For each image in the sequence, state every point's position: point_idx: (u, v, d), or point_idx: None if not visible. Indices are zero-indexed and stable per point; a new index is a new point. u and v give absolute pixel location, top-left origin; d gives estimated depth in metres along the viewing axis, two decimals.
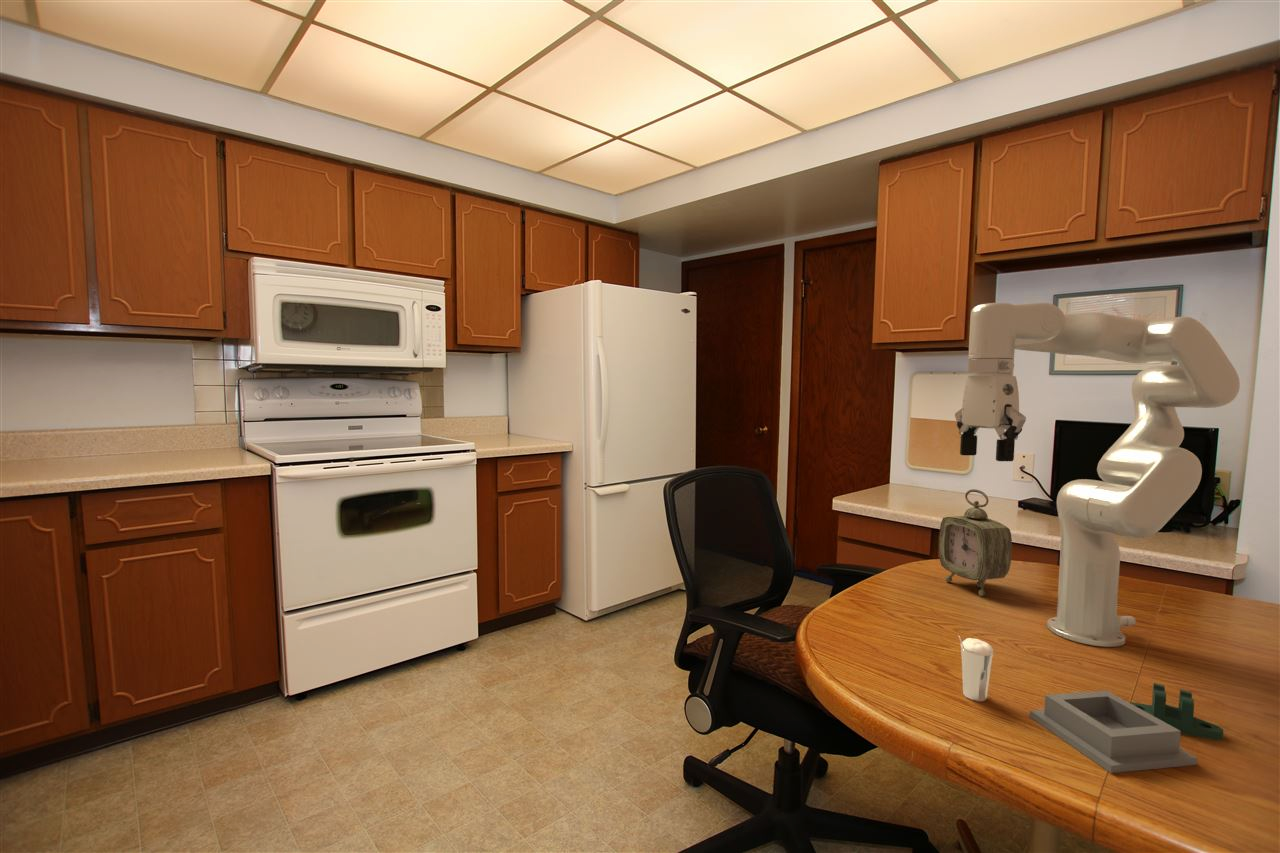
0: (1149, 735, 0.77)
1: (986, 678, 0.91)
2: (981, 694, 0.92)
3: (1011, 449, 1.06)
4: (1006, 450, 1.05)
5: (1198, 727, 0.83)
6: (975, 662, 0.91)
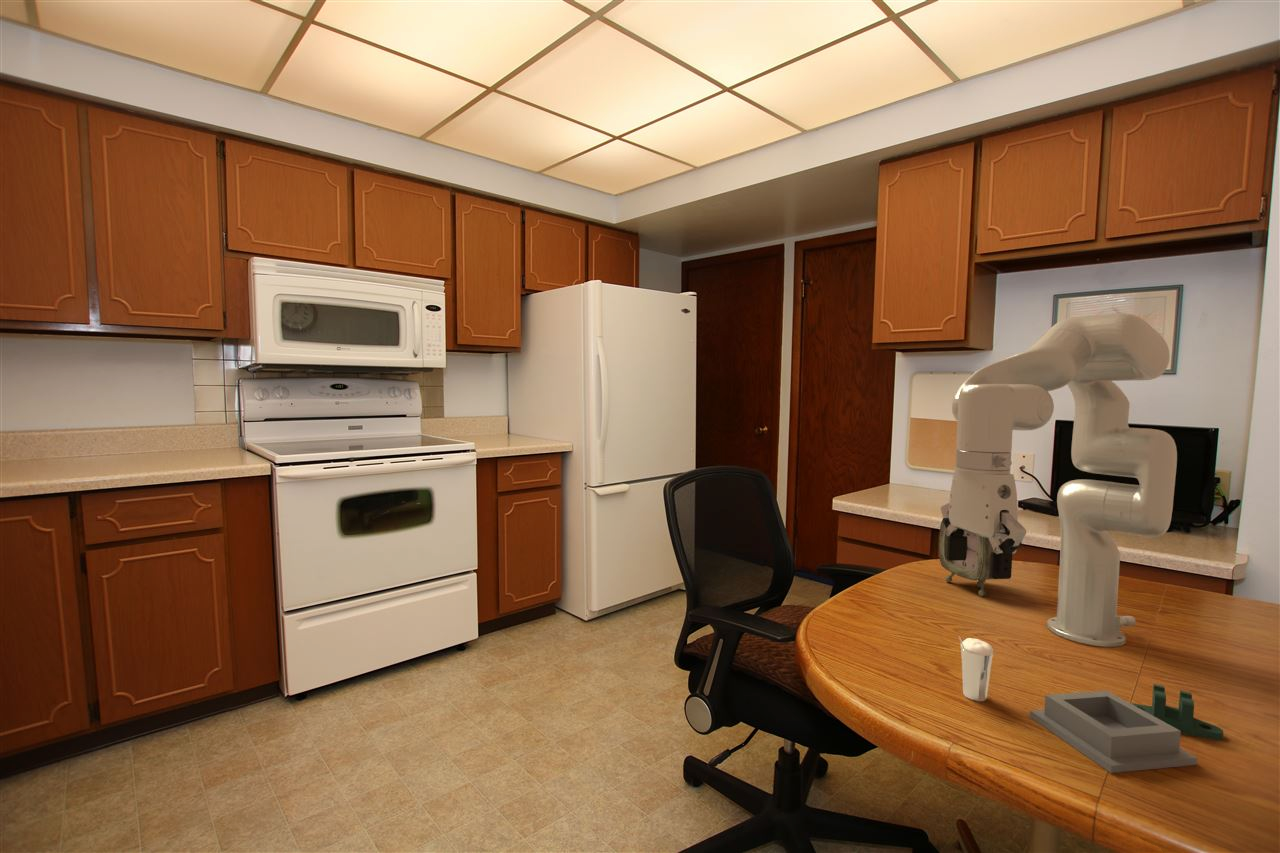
0: (1149, 735, 0.77)
1: (986, 678, 0.91)
2: (981, 694, 0.92)
3: (1008, 565, 0.86)
4: (1002, 566, 0.86)
5: (1198, 728, 0.83)
6: (975, 662, 0.91)
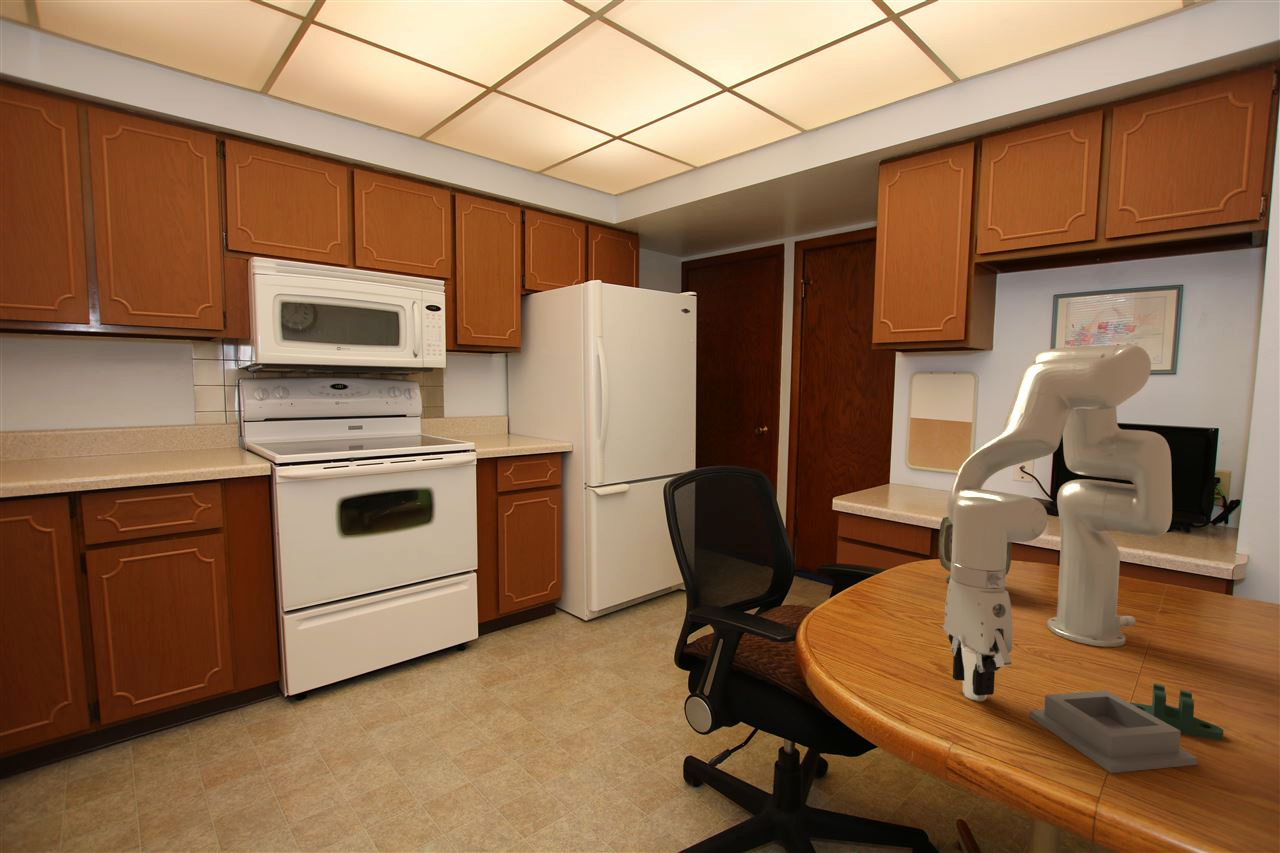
0: (1149, 735, 0.77)
1: None
2: None
3: (991, 683, 0.90)
4: (985, 684, 0.90)
5: (1198, 727, 0.83)
6: (975, 662, 0.91)
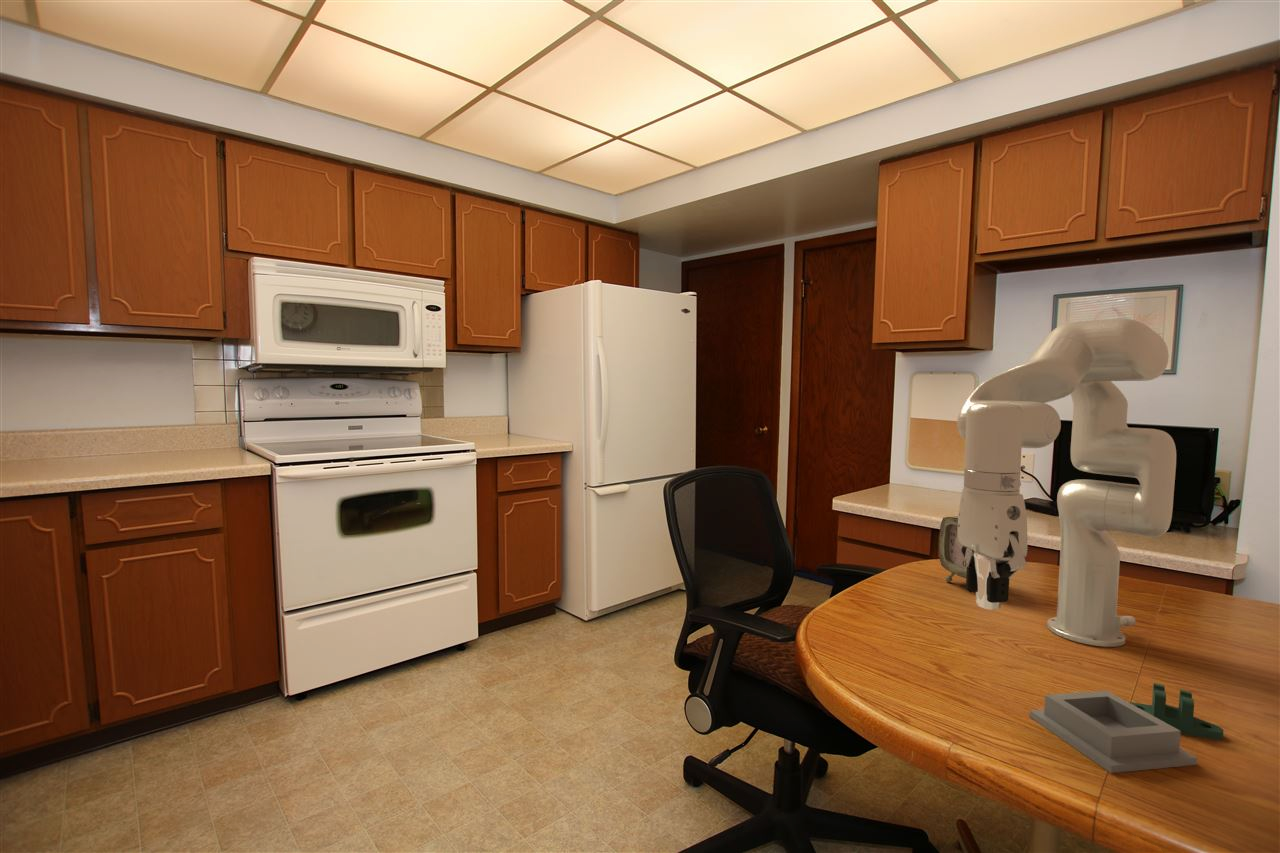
0: (1149, 735, 0.77)
1: None
2: None
3: (1005, 589, 0.88)
4: (999, 590, 0.88)
5: (1198, 727, 0.83)
6: (989, 569, 0.89)
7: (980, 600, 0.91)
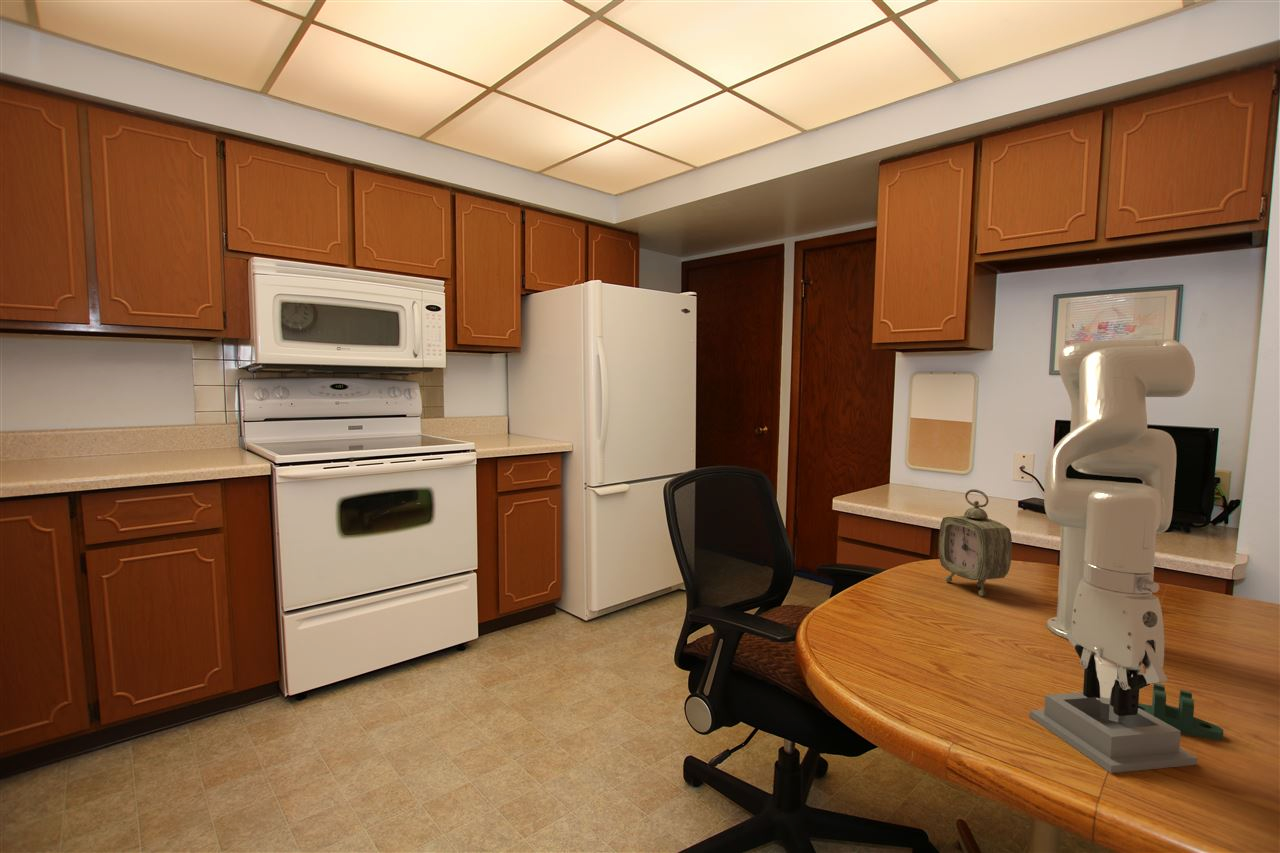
0: (1149, 735, 0.77)
1: None
2: None
3: (1136, 702, 0.78)
4: (1129, 703, 0.78)
5: (1198, 727, 0.83)
6: (1116, 678, 0.80)
7: (1103, 710, 0.81)
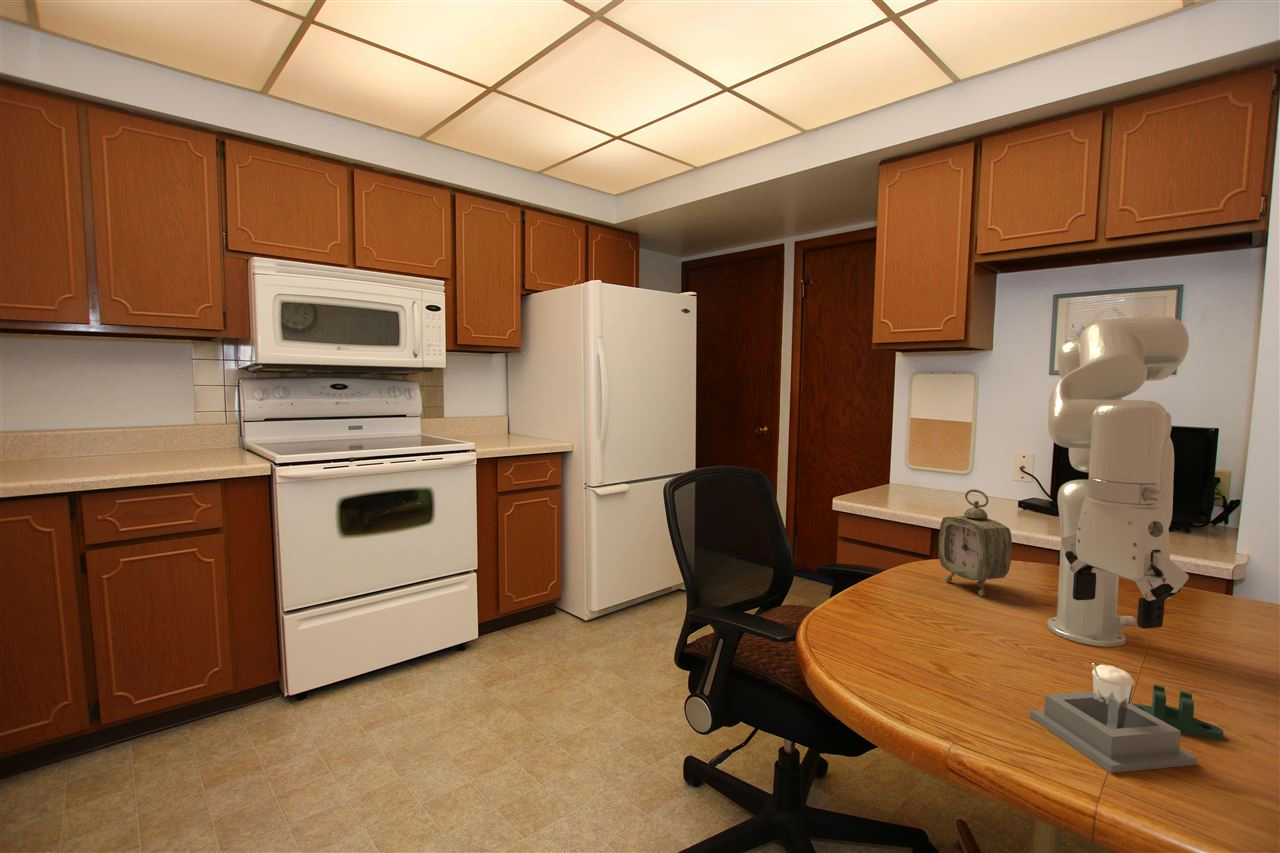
0: (1149, 735, 0.77)
1: (1125, 711, 0.80)
2: None
3: (1161, 613, 0.75)
4: (1154, 615, 0.75)
5: (1198, 728, 0.83)
6: (1113, 693, 0.80)
7: None
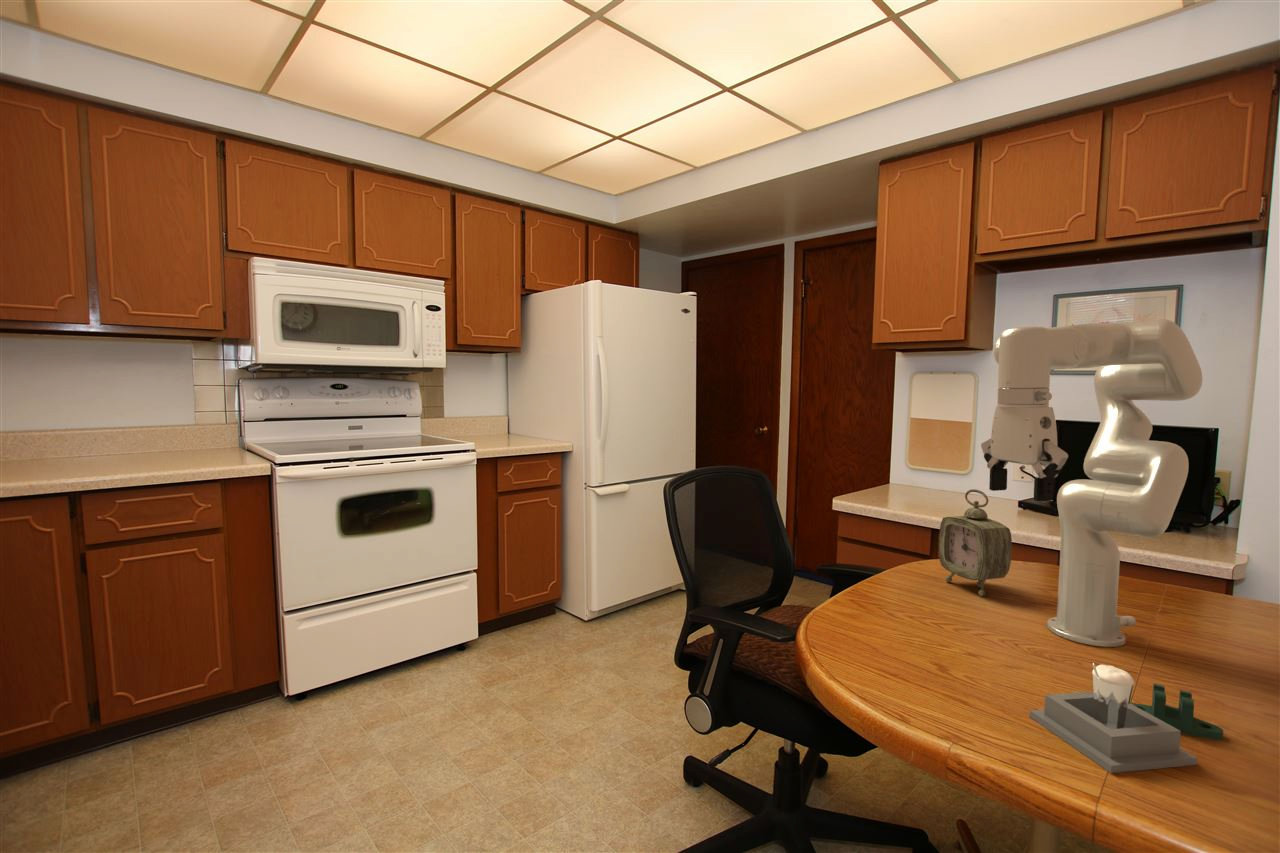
0: (1149, 735, 0.77)
1: (1125, 711, 0.80)
2: None
3: (1051, 488, 0.96)
4: (1045, 489, 0.96)
5: (1198, 727, 0.83)
6: (1113, 693, 0.80)
7: None
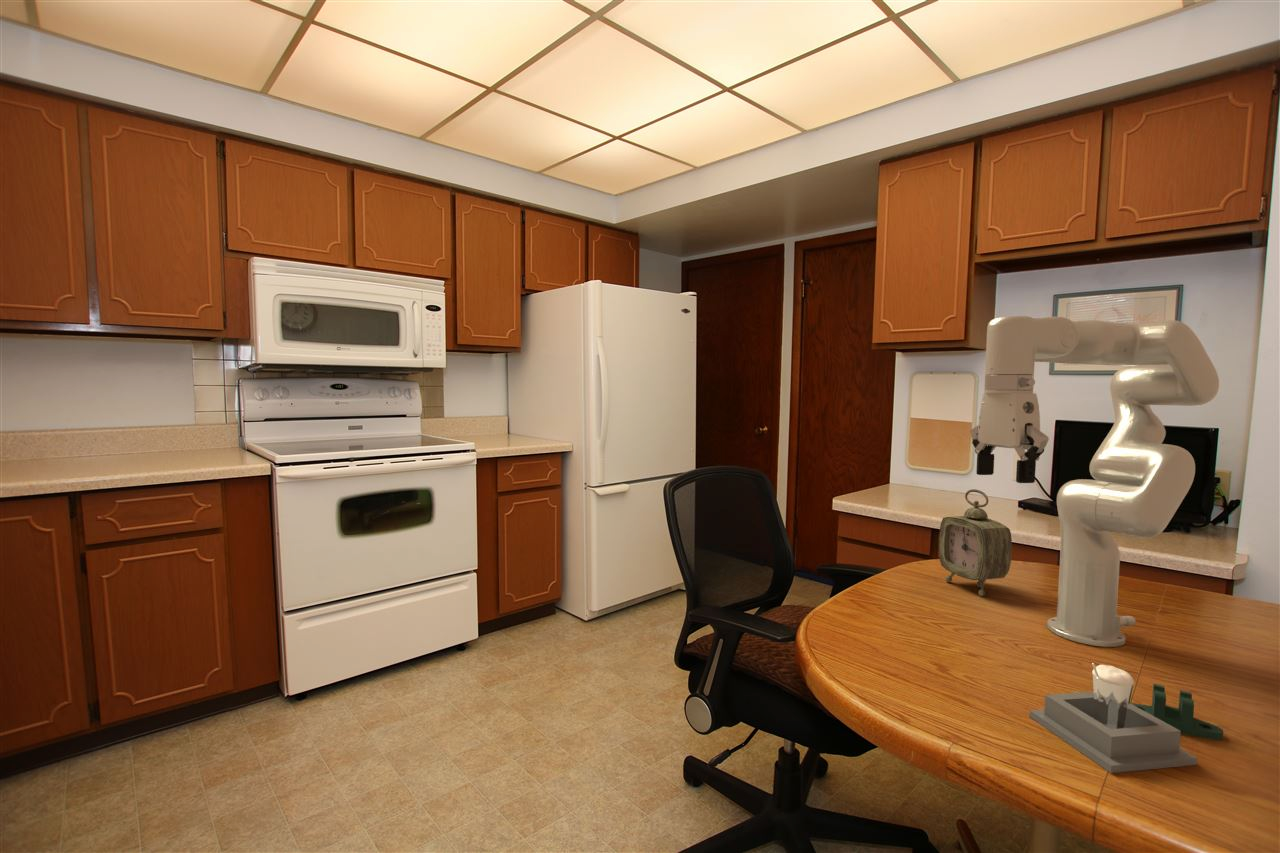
0: (1149, 735, 0.77)
1: (1125, 711, 0.80)
2: None
3: (1032, 470, 1.00)
4: (1027, 471, 1.00)
5: (1198, 728, 0.83)
6: (1113, 693, 0.80)
7: None
